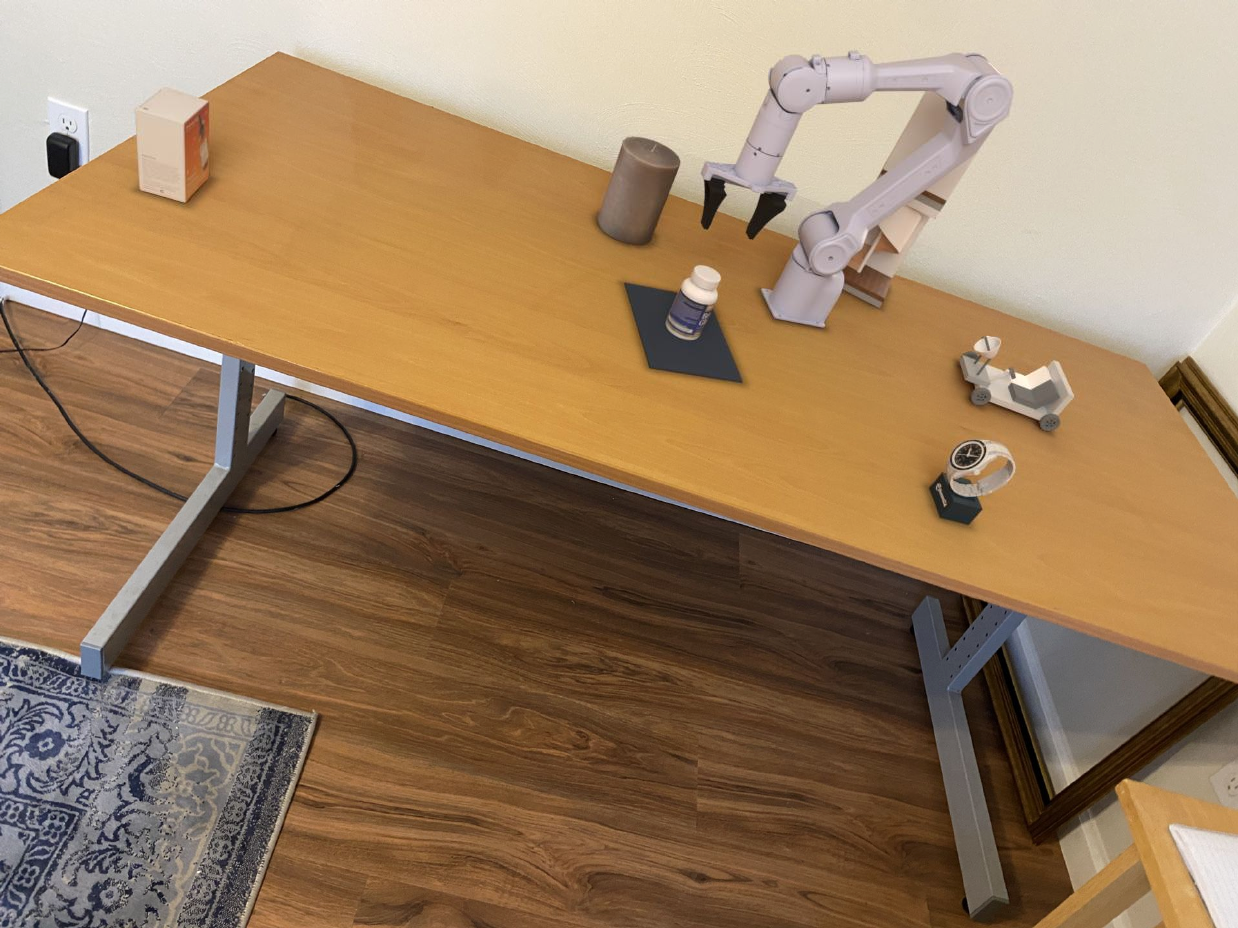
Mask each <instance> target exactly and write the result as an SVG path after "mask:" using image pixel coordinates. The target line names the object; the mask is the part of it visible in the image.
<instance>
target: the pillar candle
mask: <svg viewBox="0 0 1238 928" xmlns="http://www.w3.org/2000/svg"><path fill="white" fill-rule="evenodd" d="M680 167H681V159H680V156H679V155H678V154H677V153H676V152H675V151H674V150H672V149H671V148H670V147H668V146H667V145H664V144H663V143H661V142H659V141H656V140H654V139H650V138H648V137H647V138H646V137H642V136H634V135H632V136H626V137H625V138H624V139H623V140H622V142H621V146H620V149H619V153H618V156H617V159H616V161H615V164H614V168H613V170H612V172H611V176H610V179H609V182H608V185H607V188H606V191H605V194H604V197H603V200H602V204H601V206H600V209H599V212H598V215H597V223H598V225H599V227H600V229H601V230H602V231H603V232H604V233H605V234H606V235H608V236H609V237H611V238H612V239H614V240H617V241H619V242H622V243H625V244H630V245H643V246H644V245H647V244H650V243H651V242H652V239H653V236H654V233H655V231H656V228H657V226H658V223H659V220H660V218H661V215H662V213H663V210H664V208H665V205H666V203H667V201H668V198H669V194H670V192H671V190H672V187H673V185H674V182H675V179H676V177H677V175H678V172H679V169H680Z"/></svg>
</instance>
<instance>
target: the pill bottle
mask: <svg viewBox="0 0 1238 928" xmlns="http://www.w3.org/2000/svg"><path fill="white" fill-rule="evenodd" d="M721 281H722V275H721V274H720V273H719V272H718V271H717V270H716V269H714V268H712V267H711V266H707V265H705V264H703V265H702V264H698V265H696V266H694V268H693V269H692V272H691V275H690V277H686V278H685V279H684V280H683V281H682V283H681V285H680V287H679V290H678V292H677V293H678V294H677V297H676V299H675V301H674V303H673V306H672V308H671V310H670V312H669V315H668V317H667V319H666V327H667V329H668V330H669V331H670V332H671V333H672V334H673V335H675V336H676V337H679V338H681V339H684V340H695V339H697V338H698V337H699V336H700V334H701V332H702V330H703V328H704V326H705V324H706V322H707V320H708V318H709V315H710V313H711V311H712V309H713V310H714V307H715V305H716V303H717V302H718V301H717V300H718V298H719V294H718V290H717V288H718V287H719V285H720V283H721Z"/></svg>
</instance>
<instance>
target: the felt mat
mask: <svg viewBox="0 0 1238 928" xmlns="http://www.w3.org/2000/svg"><path fill="white" fill-rule="evenodd" d="M624 288H625V291H626V294H627V298H628V301H629V304H630V306H631V310H632V314H633V318H634V321H635V324H636V329H637V331H638V334H639V338H640V341H641V344H642V348H643V351H644V354H645V357H646V361H647V365H648V368H649V369H652V370H657V371H658V370H659V371H665V372H672V373H677V374H684V375H689V376H697V377H704V378H709V379H714V380H715V379H716V380H720V381H721V380H722V381H729V382H734V383H741V384H743V382H744V381H743V377H742V376H741V373H740V371H739V369H738V365H737V364H736V361H735V359H734V356H733V354H732V352H731V349H730V346H729V344H728V342H727V339H726V336H725V335H724V332H723V329H722V327H721V325H720V323H719V320H718V317H717V315H716V312H715V311H714V308H713V309H712V311H711V313H710V315H709V318H708V320H707V322H706V324H705V326H704V328H703V330H702V332H701V334H700V336H699V337H698V338H697V339H695V340H684V339H681V338H679V337H676V336H675V335H673V334H672V333H671V332H670V331H669V330H668V329H667V327H666V319H667V317H668V315H669V312H670V310H671V308H672V306H673V303H674V301H675V299H676V297H677V294H678V292H677V291H671V290H666V289H662V288H656V287H651V286H647V285H640V284H635V283H632V282H631V283H630V282H625V281H624Z"/></svg>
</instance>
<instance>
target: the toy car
mask: <svg viewBox="0 0 1238 928" xmlns="http://www.w3.org/2000/svg"><path fill="white" fill-rule="evenodd" d="M1001 344H1002V340H1001V338H999V337H997V336H989V335H986V336H982V337H981V339H979V340H978V341H976V342H975V343H974V344H973V345H974V346H973V349H974V351H973V350H967V351H965V352H963V353H962V354H961V355H960V357H959V364H960V367H961V370H962V371H961V372H962V374H963V377H964V380H965V381H967V382H969V383H972V384H973V385H974V388H975V389H973V390H972V391H971V393H970V400H971V403H973V404H974V405H977V406H984V405H987V404H988V403H989V402H990V403H993V404H995V405H998V406H1001V407H1003V408H1005V409H1009V410H1011V411H1014V412H1016V413H1019V414H1022V415H1024V416H1027V417H1029V418H1032V419H1034V420H1037V421H1038V425H1039V427H1040V429H1041V430H1043V431H1045V432H1052V431H1056V430H1057V429H1058V428H1059V427H1060V426H1061V418H1060V416H1059V415H1060V414H1061V412H1063V411H1064V409H1065V408H1066V407H1067V406H1068V405H1069V404H1070V402H1071V401H1072V400H1073V399H1074V398H1075V395H1074V392H1073V390H1072V388H1071V386H1070V384H1069V381H1068V379H1067V377H1066V375H1065V373H1064V371H1063V368H1062V366H1061V364H1060V362H1059V361H1057V360H1054V359H1052V361H1051V362H1049V364H1048V365H1047V366H1046V365H1043V366H1041V367H1039V368H1038V369H1035V370H1034V371H1032V372H1030V373H1028V374H1027V375H1024V374H1021V373H1018V372H1017V371H1015V369H1014V366H1009V367H1008V368H1006V369H1005V370H1002V369H1000V368H997V367H994V366H993V365H990V364H989V362H990V361H991V360H992V359H994V358H995V357H996V356H997V355H998V352H999V351H1000V349H1001V348H1000V347H1001ZM982 357H983V358H984V359H987V360H986V361H985V362H982V361H980V359H981V358H982Z"/></svg>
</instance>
